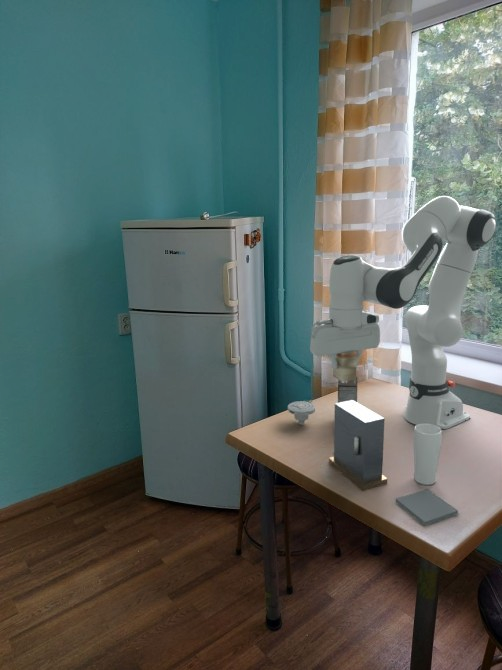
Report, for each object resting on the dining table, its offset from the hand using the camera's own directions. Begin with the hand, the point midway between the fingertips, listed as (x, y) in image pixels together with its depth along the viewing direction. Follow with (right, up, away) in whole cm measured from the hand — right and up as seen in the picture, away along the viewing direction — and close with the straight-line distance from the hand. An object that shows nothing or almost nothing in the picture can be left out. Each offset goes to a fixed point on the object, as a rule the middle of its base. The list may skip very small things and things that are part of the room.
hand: (344, 367), depth 126 cm
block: (0, -3, +1) cm, 3 cm away
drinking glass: (+21, -30, -3) cm, 37 cm away
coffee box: (+7, -22, +31) cm, 39 cm away
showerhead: (-8, -22, +34) cm, 41 cm away
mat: (+17, -33, -15) cm, 40 cm away
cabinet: (+4, -29, +2) cm, 30 cm away
